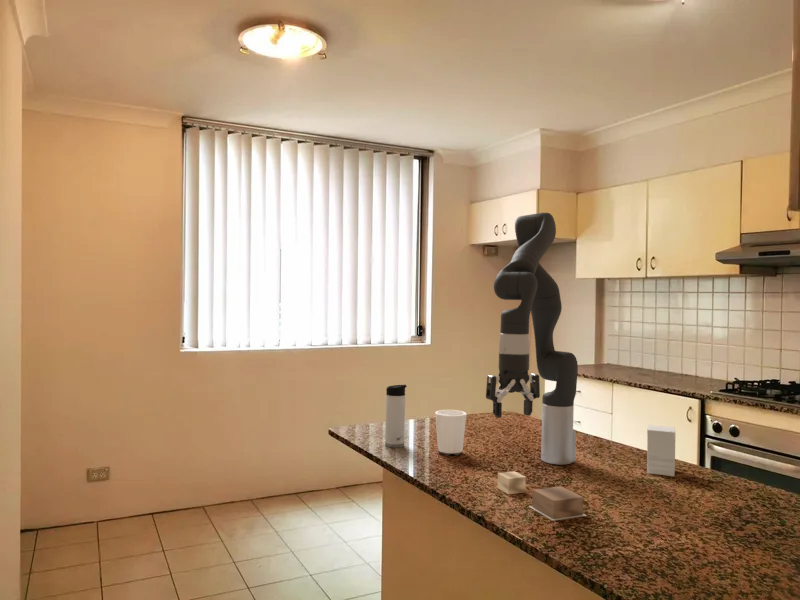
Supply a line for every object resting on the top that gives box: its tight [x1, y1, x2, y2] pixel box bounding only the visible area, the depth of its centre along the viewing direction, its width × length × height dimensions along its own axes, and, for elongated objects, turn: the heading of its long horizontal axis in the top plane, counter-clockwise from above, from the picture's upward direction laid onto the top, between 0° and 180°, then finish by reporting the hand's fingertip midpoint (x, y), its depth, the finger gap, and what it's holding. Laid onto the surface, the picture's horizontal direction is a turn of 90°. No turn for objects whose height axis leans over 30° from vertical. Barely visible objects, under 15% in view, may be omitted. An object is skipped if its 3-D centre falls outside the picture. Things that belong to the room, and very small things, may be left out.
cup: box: [434, 409, 467, 457], centre depth 190 cm, size 10×10×13 cm
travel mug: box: [384, 384, 407, 449], centre depth 198 cm, size 6×7×20 cm
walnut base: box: [531, 485, 584, 519], centre depth 138 cm, size 8×8×4 cm
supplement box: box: [646, 424, 676, 477], centre depth 174 cm, size 7×7×13 cm
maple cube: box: [497, 471, 527, 495], centre depth 152 cm, size 5×5×5 cm
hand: (512, 416), depth 152 cm, fingers open, 8 cm apart
